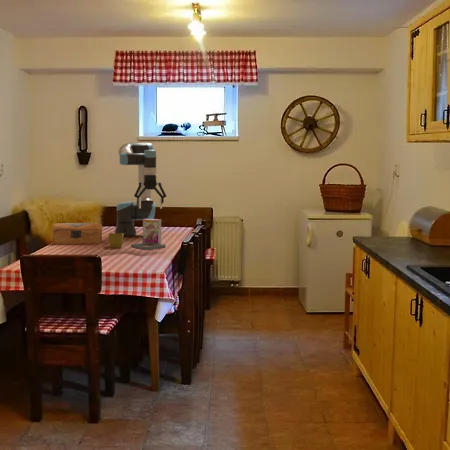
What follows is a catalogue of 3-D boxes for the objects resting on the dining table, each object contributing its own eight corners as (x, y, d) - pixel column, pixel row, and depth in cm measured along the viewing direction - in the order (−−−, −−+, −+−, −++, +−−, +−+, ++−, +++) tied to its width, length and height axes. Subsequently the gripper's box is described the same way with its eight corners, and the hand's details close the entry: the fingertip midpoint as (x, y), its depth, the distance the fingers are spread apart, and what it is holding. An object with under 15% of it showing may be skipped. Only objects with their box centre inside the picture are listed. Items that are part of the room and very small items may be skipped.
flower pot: (109, 247, 379) (109, 233, 378) (123, 247, 380) (123, 233, 379) (108, 249, 370) (108, 234, 369) (122, 249, 371) (122, 234, 370)
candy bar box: (142, 244, 393) (142, 219, 391) (146, 243, 397) (145, 218, 396) (158, 245, 389) (158, 219, 387) (161, 244, 394) (161, 219, 392)
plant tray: (131, 248, 375) (131, 244, 375) (150, 246, 385) (150, 242, 385) (146, 251, 364) (146, 246, 364) (165, 248, 375) (165, 244, 375)
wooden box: (52, 246, 380) (52, 224, 379) (55, 243, 397) (54, 222, 395) (101, 246, 385) (101, 224, 384) (102, 242, 401) (102, 221, 400)
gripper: (129, 174, 380) (129, 208, 382) (168, 174, 377) (168, 209, 379) (132, 174, 387) (132, 207, 389) (170, 174, 385) (171, 208, 387)
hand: (150, 208), depth 384 cm, fingers open, 13 cm apart
